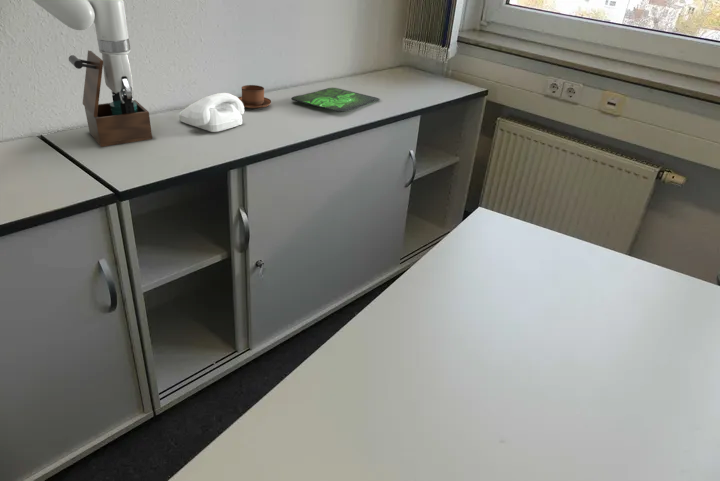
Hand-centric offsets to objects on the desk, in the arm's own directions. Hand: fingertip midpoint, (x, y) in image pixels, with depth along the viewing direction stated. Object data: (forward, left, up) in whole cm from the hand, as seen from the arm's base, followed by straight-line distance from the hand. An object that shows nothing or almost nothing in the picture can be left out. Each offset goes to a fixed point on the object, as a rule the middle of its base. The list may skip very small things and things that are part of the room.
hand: (124, 112), depth 149 cm
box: (-2, -1, -7) cm, 7 cm away
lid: (-5, -4, +9) cm, 11 cm away
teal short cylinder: (0, 0, -1) cm, 1 cm away
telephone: (+20, +13, -7) cm, 25 cm away
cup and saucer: (+30, +32, -7) cm, 45 cm away
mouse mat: (+58, +43, -6) cm, 73 cm away
